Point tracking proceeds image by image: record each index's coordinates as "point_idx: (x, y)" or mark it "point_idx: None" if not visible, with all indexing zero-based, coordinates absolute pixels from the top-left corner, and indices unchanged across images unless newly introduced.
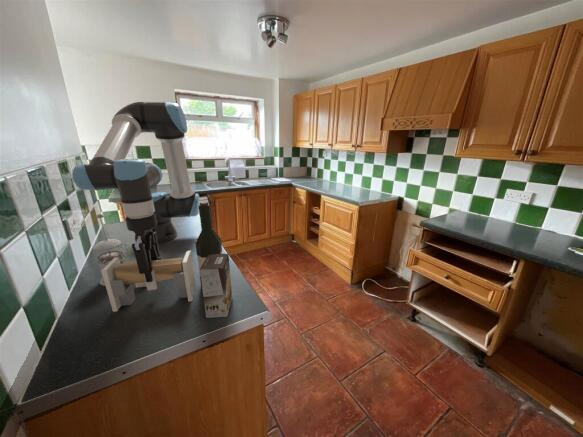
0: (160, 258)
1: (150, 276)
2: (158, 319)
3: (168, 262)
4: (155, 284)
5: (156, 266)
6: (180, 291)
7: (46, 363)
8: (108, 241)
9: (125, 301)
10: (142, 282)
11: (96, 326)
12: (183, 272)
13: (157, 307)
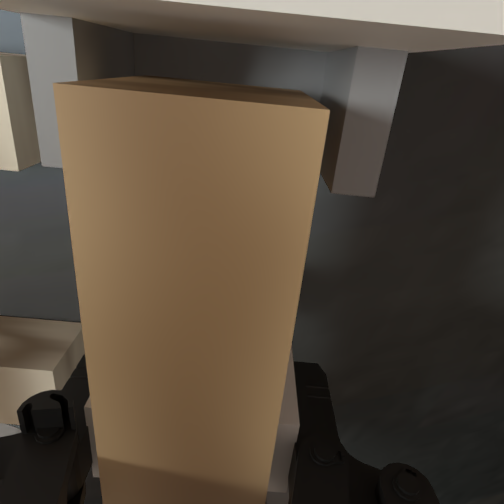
0: (24, 414)
1: (332, 409)
2: (436, 225)
3: (211, 316)
4: None
5: (274, 430)
6: None
7: (484, 501)
8: None
9: None
10: (75, 367)
11: (356, 441)
12: (360, 65)
13: (319, 247)
